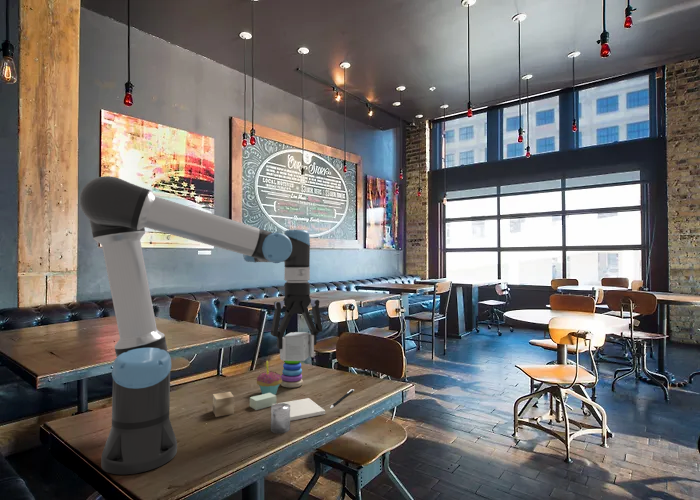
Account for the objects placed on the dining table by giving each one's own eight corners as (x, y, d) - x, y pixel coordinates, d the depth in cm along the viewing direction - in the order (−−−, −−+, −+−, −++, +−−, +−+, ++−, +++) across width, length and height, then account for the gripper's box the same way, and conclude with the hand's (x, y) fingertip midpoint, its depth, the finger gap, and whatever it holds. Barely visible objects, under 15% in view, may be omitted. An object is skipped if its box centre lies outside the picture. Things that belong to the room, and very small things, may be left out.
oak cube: (215, 417, 115) (216, 399, 115) (212, 411, 119) (213, 394, 119) (233, 414, 117) (233, 396, 117) (229, 408, 122) (230, 391, 122)
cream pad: (286, 421, 112) (286, 418, 112) (272, 407, 122) (272, 404, 122) (325, 414, 118) (325, 410, 118) (308, 401, 128) (308, 398, 128)
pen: (354, 391, 139) (354, 388, 139) (331, 410, 122) (331, 406, 122) (352, 390, 140) (352, 387, 140) (328, 409, 122) (328, 405, 122)
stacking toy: (301, 388, 140) (302, 334, 141) (278, 388, 140) (279, 334, 141) (304, 381, 148) (304, 330, 149) (282, 381, 148) (283, 330, 149)
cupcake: (275, 398, 130) (276, 361, 130) (251, 396, 132) (252, 359, 132) (285, 390, 138) (285, 355, 139) (262, 388, 140) (262, 353, 140)
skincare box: (304, 361, 116) (303, 336, 116) (283, 360, 117) (283, 335, 117) (309, 356, 122) (309, 332, 122) (290, 355, 123) (290, 331, 123)
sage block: (255, 411, 120) (256, 400, 120) (249, 407, 123) (249, 397, 123) (276, 405, 125) (276, 395, 125) (269, 402, 128) (269, 392, 128)
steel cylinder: (274, 434, 103) (274, 411, 104) (268, 427, 108) (268, 405, 108) (292, 431, 106) (292, 408, 106) (286, 424, 110) (286, 402, 110)
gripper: (266, 283, 112) (266, 365, 111) (334, 281, 122) (334, 356, 122) (258, 282, 118) (258, 359, 118) (323, 280, 129) (323, 351, 128)
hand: (297, 357), depth 120 cm, fingers closed on skincare box, 8 cm apart
